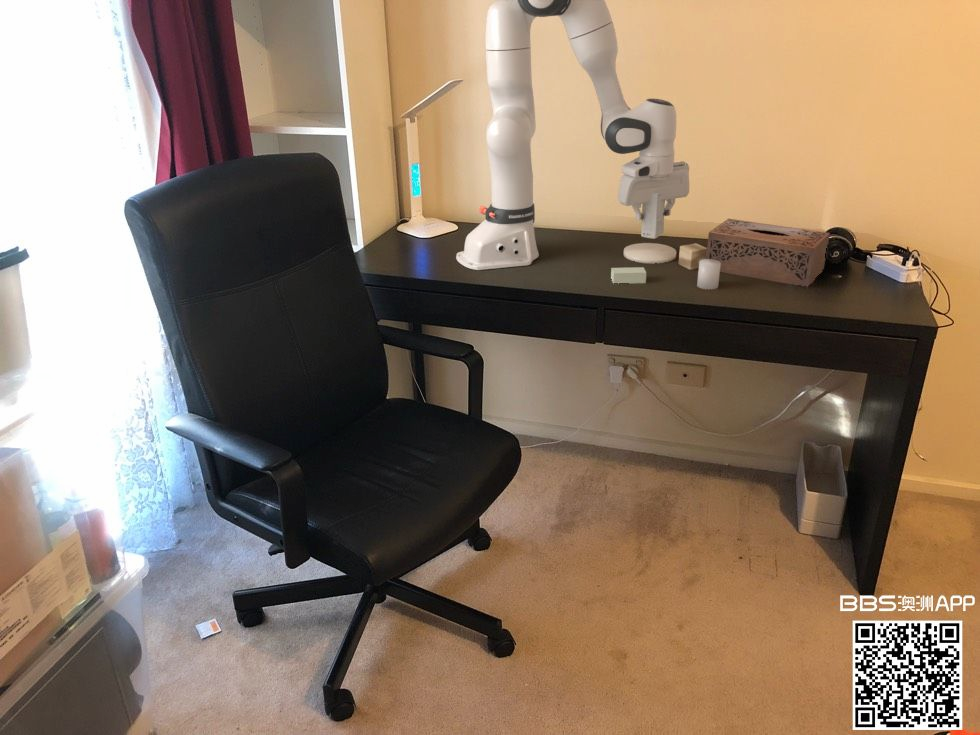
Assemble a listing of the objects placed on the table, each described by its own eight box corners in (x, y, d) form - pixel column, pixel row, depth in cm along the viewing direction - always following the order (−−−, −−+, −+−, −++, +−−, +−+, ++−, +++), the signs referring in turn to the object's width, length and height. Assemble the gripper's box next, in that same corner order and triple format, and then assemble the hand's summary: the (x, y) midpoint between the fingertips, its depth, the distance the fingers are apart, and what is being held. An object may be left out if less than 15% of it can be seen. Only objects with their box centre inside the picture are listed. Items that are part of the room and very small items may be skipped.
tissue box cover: (823, 271, 204) (829, 233, 199) (807, 288, 193) (814, 248, 189) (724, 254, 217) (728, 218, 213) (704, 269, 206) (708, 232, 202)
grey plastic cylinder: (705, 290, 192) (708, 267, 190) (692, 284, 196) (695, 261, 194) (722, 287, 194) (725, 263, 191) (709, 281, 198) (711, 257, 196)
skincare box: (655, 239, 211) (658, 193, 206) (639, 237, 213) (642, 191, 208) (664, 233, 216) (667, 188, 210) (648, 230, 218) (651, 186, 212)
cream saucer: (642, 266, 209) (642, 262, 208) (613, 251, 220) (613, 247, 220) (686, 258, 214) (687, 254, 213) (656, 244, 225) (656, 240, 225)
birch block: (690, 270, 206) (691, 251, 204) (678, 264, 210) (680, 246, 208) (705, 267, 208) (707, 248, 206) (693, 261, 212) (695, 243, 210)
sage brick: (613, 284, 198) (613, 273, 197) (610, 279, 202) (611, 267, 200) (645, 284, 198) (646, 272, 197) (642, 278, 202) (643, 267, 200)
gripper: (681, 158, 213) (678, 209, 219) (616, 167, 205) (614, 219, 211) (696, 162, 207) (692, 214, 213) (629, 171, 200) (627, 225, 206)
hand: (652, 217), depth 212 cm, fingers closed on skincare box, 7 cm apart
